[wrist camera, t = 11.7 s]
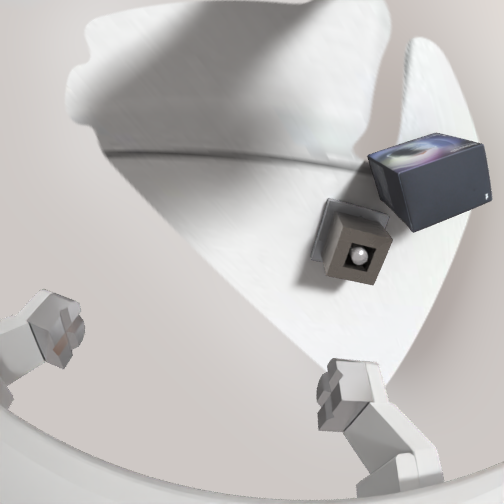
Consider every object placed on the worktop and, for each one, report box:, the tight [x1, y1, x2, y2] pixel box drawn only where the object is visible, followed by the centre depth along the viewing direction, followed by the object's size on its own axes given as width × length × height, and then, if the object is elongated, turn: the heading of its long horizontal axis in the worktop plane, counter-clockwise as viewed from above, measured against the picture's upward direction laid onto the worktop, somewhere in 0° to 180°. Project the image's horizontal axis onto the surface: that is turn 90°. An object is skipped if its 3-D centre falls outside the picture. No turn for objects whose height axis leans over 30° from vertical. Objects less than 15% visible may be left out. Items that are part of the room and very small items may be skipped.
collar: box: [321, 211, 393, 285], centre depth 33 cm, size 6×6×5 cm
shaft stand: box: [311, 198, 389, 265], centre depth 34 cm, size 8×8×6 cm
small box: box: [367, 133, 492, 233], centre depth 27 cm, size 11×6×10 cm, turn 115°
